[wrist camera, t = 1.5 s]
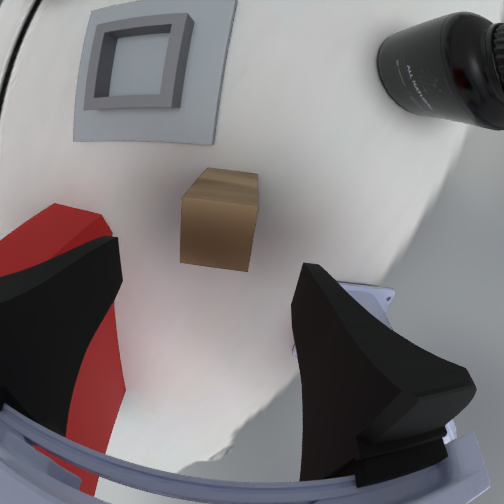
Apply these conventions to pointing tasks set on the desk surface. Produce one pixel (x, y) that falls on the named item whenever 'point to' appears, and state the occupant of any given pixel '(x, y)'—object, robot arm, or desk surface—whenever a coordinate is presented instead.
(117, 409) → the book
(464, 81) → the supplement bottle
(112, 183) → the desk surface
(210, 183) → the oak peg
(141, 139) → the stand
